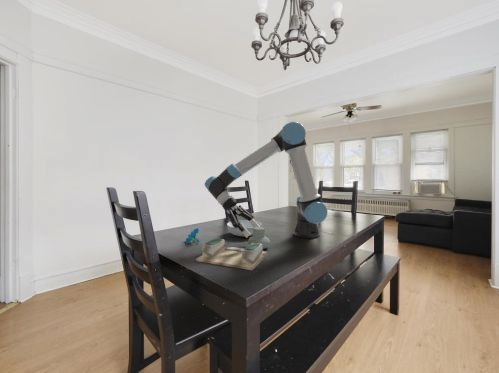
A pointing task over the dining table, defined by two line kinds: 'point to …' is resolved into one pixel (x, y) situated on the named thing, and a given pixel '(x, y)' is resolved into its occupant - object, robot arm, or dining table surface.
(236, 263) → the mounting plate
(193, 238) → the gear
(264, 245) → the air freshener
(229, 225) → the serving bowl
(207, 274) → the dining table surface
